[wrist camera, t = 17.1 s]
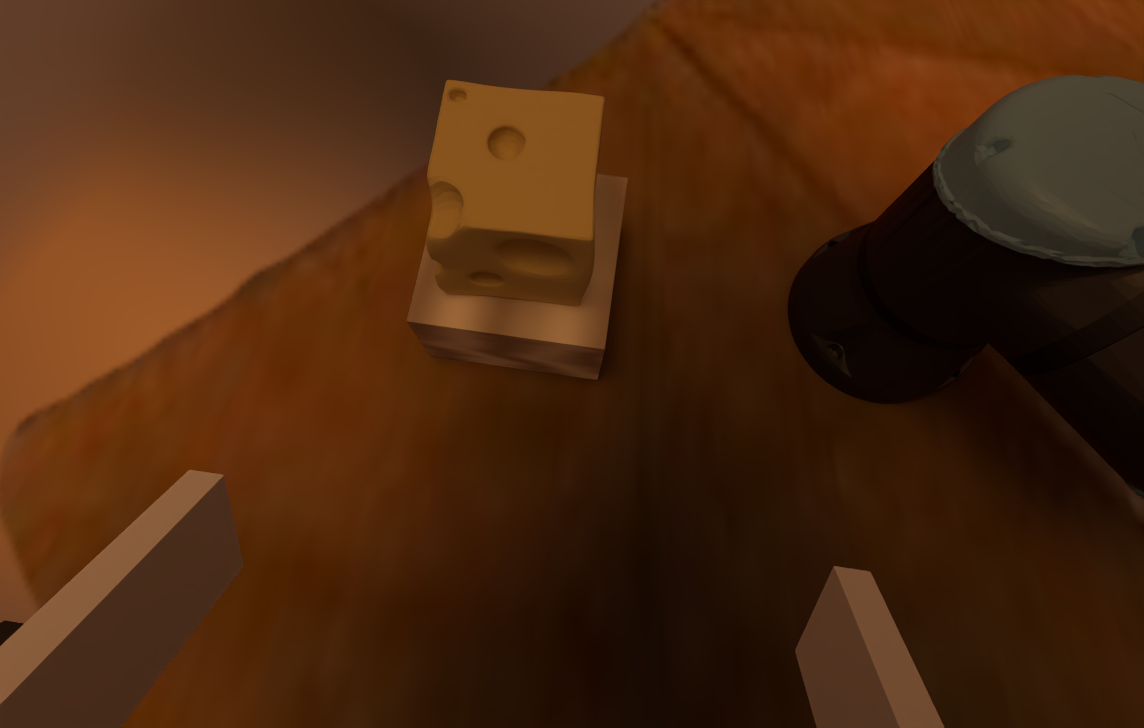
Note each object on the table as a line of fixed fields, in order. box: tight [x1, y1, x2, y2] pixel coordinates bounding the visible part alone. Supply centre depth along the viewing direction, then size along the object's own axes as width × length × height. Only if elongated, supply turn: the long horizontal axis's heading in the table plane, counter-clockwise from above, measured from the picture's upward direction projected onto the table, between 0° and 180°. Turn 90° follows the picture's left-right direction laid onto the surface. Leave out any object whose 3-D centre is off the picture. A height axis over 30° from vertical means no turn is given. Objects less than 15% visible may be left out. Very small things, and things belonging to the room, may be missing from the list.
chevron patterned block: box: [407, 174, 628, 380], centre depth 46 cm, size 14×14×8 cm
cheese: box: [426, 80, 605, 306], centre depth 38 cm, size 10×11×10 cm
